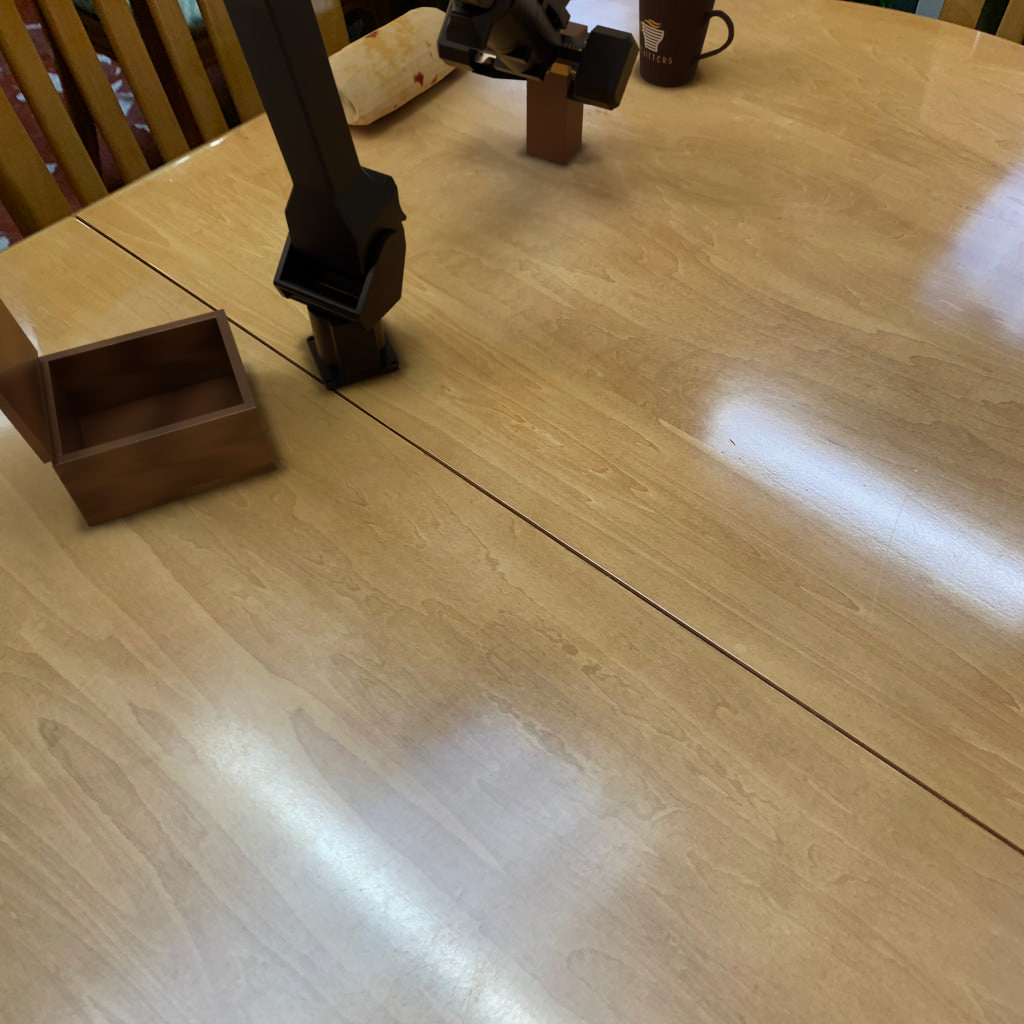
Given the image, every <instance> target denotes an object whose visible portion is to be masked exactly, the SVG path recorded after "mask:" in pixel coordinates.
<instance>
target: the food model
mask: <svg viewBox="0 0 1024 1024" xmlns="http://www.w3.org/2000/svg"><path fill="white" fill-rule="evenodd" d="M445 15H446V12H445V11H442V10H441V9H440V8H437V7H430V6H422V7H417V8H414V9H410V10H409V11H407V12H406V13H404V14H403V15H401V16H398V17H397V18H395V19H393V20H392V21H390V22H389V23H387V24H385V25H383V26H381V27H379V28H377V29H375V30H374V31H371V32H370V33H368V34H366V35H364V36H363V37H361V38H359V39H357V40H355V41H353V42H351V43H349V44H348V45H346V46H345V47H343V48H342V49H340V50H338V51H337V52H335V53H333V54H332V55H330V56H328V59H329V62H330V65H331V69H332V72H333V75H334V79H335V82H336V86H337V89H338V92H339V96H340V99H341V102H342V106H343V109H344V112H345V116H346V119H347V122H348V126H349V125H351V126H367V125H370V124H372V123H373V122H375V121H376V120H379V119H380V118H382V117H384V116H386V115H388V114H390V113H392V112H394V111H396V110H398V109H399V108H401V107H403V106H404V105H405V104H406V103H408V102H410V101H411V100H413V99H414V98H415V97H418V96H419V95H420V94H422V93H424V92H426V91H427V90H428V89H430V88H432V87H433V86H434V85H436V84H437V83H439V82H440V81H441V80H442V79H444V78H445V77H446V76H448V75H449V74H450V73H452V72H453V71H454V70H456V69H457V68H456V67H452V66H449V65H447V64H446V63H445V62H443V61H442V60H441V59H440V58H439V55H438V52H437V40H438V36H439V33H440V30H441V27H442V24H443V21H444V18H445Z"/></svg>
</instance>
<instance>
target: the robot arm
mask: <svg viewBox="0 0 1024 1024" xmlns="http://www.w3.org/2000/svg"><path fill="white" fill-rule="evenodd" d="M570 1H571V0H449V3H448V5H447V9H446V12H445V13H446V15H445V18H444V21H443V24H442V27H441V30H440V33H439V36H438V40H437V52H438V55H439V58H440V59H441V60H442V61H443V62H445V63H446V64H447V65H449V66H452V67H456V69H460V70H462V71H463V70H464V71H467V72H471V73H473V74H476V75H478V76H479V75H480V76H483V77H487V78H490V79H495V80H508V81H509V80H510V81H524V82H527V78H529V79H532V80H536V81H540V82H543V80H544V77H545V75H546V73H549V72H550V71H551V68H552V65H553V64H554V62H556V63H560V64H564V65H567V66H571V69H570V71H571V73H572V74H574V75H573V78H572V80H571V83H570V86H569V89H568V92H567V95H566V99H569V100H572V101H576V102H580V103H583V104H584V105H587V106H593V107H596V108H599V109H603V110H606V111H610V112H611V111H614V110H615V109H617V108H618V107H620V106H621V102H622V99H623V97H624V94H625V91H626V88H627V86H628V83H629V81H630V77H631V74H632V72H633V69H634V66H635V64H636V60H637V58H638V57H639V56H638V55H639V54H640V47H639V45H638V42H637V40H636V39H635V37H634V35H633V33H632V32H628V31H625V30H620V29H616V28H612V27H609V26H604V25H601V24H597V25H595V27H593V28H592V29H591V30H590V32H589V31H588V32H587V33H584V34H583V35H582V36H581V37H580V38H577V37H573V36H569V35H565V34H561V33H560V31H561V29H564V30H566V29H567V26H568V23H569V21H571V17H572V16H571V14H570V12H569V11H568V9H567V6H568V5H569V3H570ZM222 2H223V5H224V7H225V10H226V13H227V16H228V17H229V20H230V23H231V25H232V29H233V31H234V34H235V36H236V39H237V41H238V44H239V46H240V49H241V52H242V54H243V57H244V59H245V62H246V65H247V67H248V70H249V72H250V75H251V78H252V80H253V83H254V86H255V88H256V91H257V93H258V96H259V99H260V102H261V104H262V106H263V109H264V111H265V114H266V116H267V120H268V122H269V125H270V127H271V130H272V132H273V134H274V137H275V140H276V143H277V145H278V148H279V150H280V153H281V156H282V158H283V161H284V164H285V166H286V168H287V171H288V174H289V176H290V179H291V182H292V188H291V191H290V193H289V195H288V196H289V197H288V199H287V202H286V204H285V208H284V216H285V217H284V218H285V221H286V226H287V229H288V233H287V235H286V239H285V242H284V245H283V249H282V251H281V255H280V257H279V262H278V265H277V267H276V271H275V274H274V277H273V280H272V284H273V286H274V288H275V289H276V291H277V292H278V293H279V294H280V296H281V297H282V298H284V299H287V300H289V299H290V300H292V301H295V302H297V303H299V304H302V305H305V306H306V310H307V314H308V318H309V321H310V326H311V330H312V335H309V336H308V337H307V338H306V339H305V340H306V344H307V347H308V349H309V352H310V354H311V357H312V359H313V362H314V365H315V366H316V369H317V371H318V374H319V376H320V379H321V381H322V383H323V387H324V388H325V389H327V390H333V389H336V388H339V387H343V386H347V385H350V384H353V383H357V382H360V381H363V380H368V379H371V378H374V377H377V376H382V375H384V374H388V373H392V372H395V371H397V370H399V369H400V367H401V363H400V359H399V358H398V356H397V354H396V352H395V349H394V347H393V346H392V343H391V341H390V340H389V337H388V336H387V333H386V331H385V330H384V325H383V324H384V323H383V318H384V316H385V315H387V313H389V311H391V310H392V308H394V307H395V305H396V304H397V303H398V302H399V301H401V299H402V293H403V283H404V275H405V266H406V255H407V240H406V233H405V227H404V224H403V222H405V221H406V220H407V218H408V217H407V215H406V214H405V212H404V210H403V209H402V206H401V203H400V196H399V188H398V185H397V184H396V183H397V182H396V181H395V179H394V177H393V176H392V175H390V174H386V173H384V172H381V171H378V170H375V169H371V168H368V167H366V166H363V165H361V163H360V160H359V157H358V153H357V149H356V146H355V143H354V139H353V136H352V132H351V129H350V126H349V124H348V122H347V119H346V116H345V112H344V109H343V106H342V102H341V99H340V96H339V92H338V89H337V86H336V82H335V79H334V75H333V72H332V69H331V65H330V62H329V59H328V58H329V55H328V53H327V49H326V45H325V42H324V38H323V35H322V32H321V29H320V28H321V27H320V26H319V21H318V19H317V15H316V12H315V9H314V5H313V1H312V0H222ZM563 46H564V47H563ZM567 46H568V48H567ZM571 47H572V49H571ZM575 48H576V50H574V49H575ZM579 49H581V50H582V51H580V50H579Z"/></svg>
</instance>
